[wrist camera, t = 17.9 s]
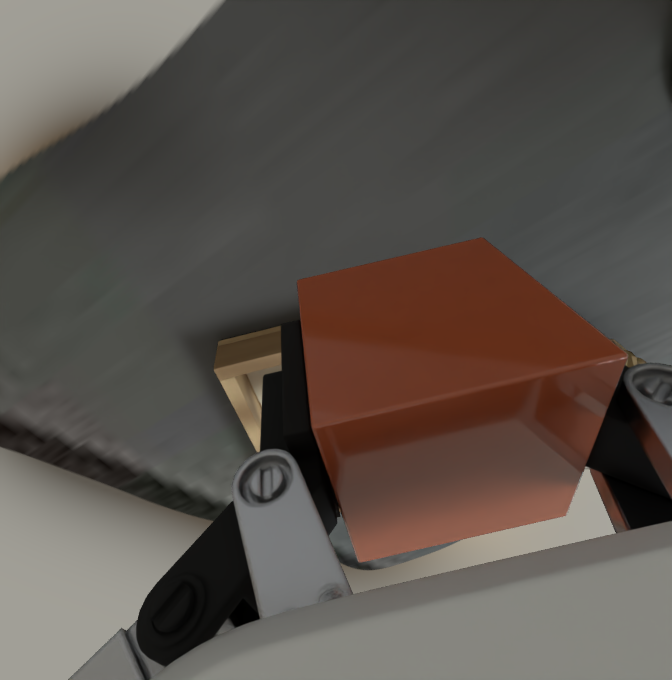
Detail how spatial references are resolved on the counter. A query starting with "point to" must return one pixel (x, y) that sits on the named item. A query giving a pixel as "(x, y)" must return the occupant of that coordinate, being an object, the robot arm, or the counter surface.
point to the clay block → (450, 395)
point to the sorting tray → (248, 374)
